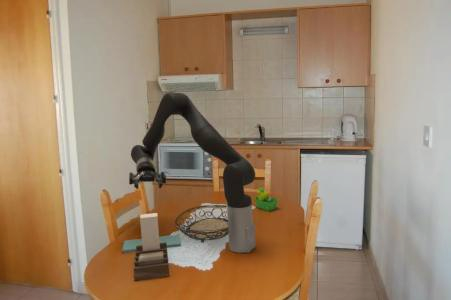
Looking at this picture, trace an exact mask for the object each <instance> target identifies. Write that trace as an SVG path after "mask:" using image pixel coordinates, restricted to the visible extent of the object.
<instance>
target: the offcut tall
mask: <svg viewBox="0 0 451 300" xmlns="http://www.w3.org/2000/svg"><path fill="white" fill-rule="evenodd" d="M138 264H139V267H141V266H149V265H156V264H164V259H163V256H155V257H147V258H139V259H138Z"/></svg>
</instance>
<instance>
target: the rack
mask: <svg viewBox="0 0 451 300" xmlns="http://www.w3.org/2000/svg"><path fill="white" fill-rule="evenodd" d="M162 251H163V259H164V264H156V265H149V266H141V267H139V264H138V259H139V256H140V254H146V253H154V252H162ZM134 260H135V261H134V263H133V265H134V267H133V275H134V276H133V277H134V278H133V279H134V281H135V282H137V281H141V280H142V281H143V280H144V281H145V280H150V279H157V278H164V277H165V278H166V277H170V267H169V256H168V248H167V243H166V242H164V243H160V249H157V250H148V251H143V248H142V245H138V246H136V252H135V256H134Z"/></svg>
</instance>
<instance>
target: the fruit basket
mask: <svg viewBox="0 0 451 300" xmlns="http://www.w3.org/2000/svg"><path fill="white" fill-rule="evenodd" d="M256 192H257V194H256V195H257V196H255V197H253V199H254V203H255V205H256V208H258V209H261V210H263V211H266V212H270V211H273V210H276V209H277V205H278V202H279V199H277V198H274V197H271V196H269V193H268V191H266V190H265V189H264V187H260V188H258V189H257V191H256Z"/></svg>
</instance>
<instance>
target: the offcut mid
mask: <svg viewBox="0 0 451 300" xmlns="http://www.w3.org/2000/svg"><path fill="white" fill-rule="evenodd" d="M155 256H163V253H162V254H154V255H146V256H139V258H147V257H155Z"/></svg>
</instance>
